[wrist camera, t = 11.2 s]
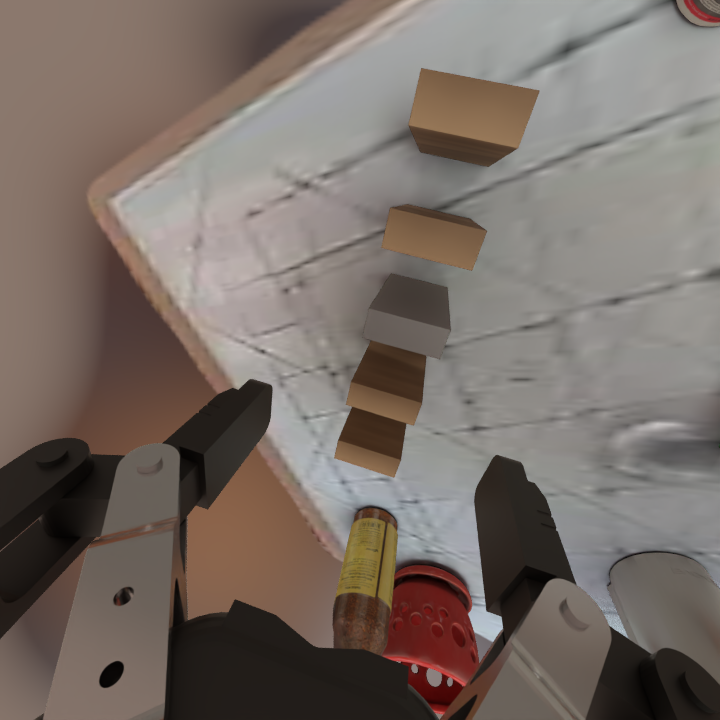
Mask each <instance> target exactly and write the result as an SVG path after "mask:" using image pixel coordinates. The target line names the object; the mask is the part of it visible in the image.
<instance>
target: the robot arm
mask: <svg viewBox="0 0 720 720" xmlns="http://www.w3.org/2000/svg"><path fill="white" fill-rule="evenodd" d="M271 404H272V385H270V384H267V383H263V382H260V381H257V380H254V379H250V380H248V381H247V382H246V383H245V384H244V385H243V386H242V387H241V388H240V389H239V390H237V389H234V388H231V389H229V390H227V391H224V392H222V393H220V394H218V395H217V396H216V397H214V398H213V399H212V400H211V401H210V402H209V403H208V405H206V406H204V407H203V408H202V409H201V410H200V411H199V413H196V414H195V415H194V416H193V417H192V418H191V419H190V420H188V421H187V422H186V423H185V424H184V425H183V426H182V427H180V428H179V429H178V430H177V431H176V432H175V433H174V434H172V435H171V436H170V437H169V438H168V439H167V440H166V441H164V442H163V443H162V444H161V443H159V444H158V443H157V444H149V445H145V446H141V447H139V448H137V449H135V450H133V451H131V452H130V453H128V454H127V455H126V456H121V455H119V456H118V455H97V454H91V452H90V449H89V447H88V444H87V443H86V442H84V441H82V440H80V439H76V438H63V439H56V440H51V441H48V442H45V443H42V444H40V445H38V446H35V447H33V448H32V449H30V450H28V451H27V452H25V453H24V454H22V455H21V456H19V457H18V458H16V459H14V460H13V461H12V462H10V463H8V464H7V465H6V466H4V467H2V468H1V469H0V550H1V549H2V548H4V547H5V546H6V545H7V544H8V543H10V542H11V541H12V540H13V539H14V538H15V537H17V536H18V535H19V534H20V533H21V532H22V531H24V530H25V529H26V528H27V527H28V526H29V525H31V524H32V523H33V522H34V521H35V520H36V519H38V520H37V521H36V522H35V523H34V524H32V525H31V526H30V527H29V528H28V529H27V530H26V531H24V532H23V533H22V534H21V535H20V536H19V537H17V538H16V539H15V540H14V541H13V542H12V543H10V544H9V545H8V546H7V547H6V548H4V549H3V550H2V551H1V552H0V639H1V637H2V636H3V635H4V634H5V633H6V632H7V631H8V630H9V629H10V628H11V627H12V626H13V625H14V624H15V622H17V620H18V619H19V618H20V617H21V616H22V615H23V614H24V613H25V612H26V611H27V610H28V609H29V608H30V607H31V606H32V605H33V603H34V602H35V601H36V600H37V599H38V598H39V597H40V596H41V595H42V594H43V593H44V592H45V591H46V590H47V588H49V586H50V585H51V584H52V583H53V582H54V581H55V580H56V579H57V578H58V577H59V576H60V575H61V574H62V572H64V571H65V569H66V568H67V567H68V566H69V565H70V564H71V563H72V562H73V561H74V560H75V559H76V558H77V557H78V556H79V554H81V552H82V551H83V550H84V549H85V548H86V547H87V546H88V545H89V544H90V543H91V542H92V541H93V540H94V538H96V537H100V539H99V540H95V541H93V542H92V543H91V544H90V546H89V547H88V550H87V553H86V556H85V559H84V564H83V567H82V571H81V575H80V579H79V583H78V586H77V590H76V594H75V598H74V602H73V605H72V609H71V613H70V617H69V621H68V625H67V629H66V632H65V636H64V640H63V644H62V648H61V652H60V655H59V659H58V663H57V667H56V671H55V675H54V679H53V682H52V686H51V690H50V694H49V697H48V701H47V706H46V709H45V713H44V714H42V715H41V716H39V717H38V718H36V719H35V720H439V719H438V717H437V715H436V714H435V712H434V711H433V709H432V708H431V707H430V706H429V704H428V703H427V702H426V701H425V699H424V698H423V697H422V696H421V695H420V694H419V693H418V692H417V691H416V690H415V689H414V688H413V687H412V686H411V685H409V684H408V674H409V667H408V666H406V665H403V664H401V663H398V662H395V661H393V660H390V659H388V658H385V657H383V656H380V655H377V654H375V653H372V652H370V651H367V650H365V649H339V648H318V647H315V646H313V645H311V644H310V643H309V642H308V641H306V640H305V639H304V638H303V637H302V636H300V635H299V634H298V633H297V632H296V631H294V630H293V629H292V628H291V627H290V626H288V625H287V624H286V623H285V622H284V621H282V620H281V619H280V618H279V617H277V616H276V615H274V614H272V613H269V612H267V611H264V610H261V609H259V608H256V607H253V606H251V605H249V604H246V603H243V602H241V601H238V600H234V602H233V605H232V606H231V608H230V610H229V612H220V613H212V614H207V615H203V616H199V617H196V618H193V619H191V620H188V599H187V521H188V519H187V516H188V514H189V513H190V512H191V511H192V509H193V508H194V507H195V506H196V505H197V506H199V507H202V508H205V509H208V508H209V507H210V506H211V504H212V503H213V502H214V500H215V499H216V498H217V496H218V495H219V494H220V492H221V491H222V490H223V488H224V487H225V486H226V484H227V483H228V482H229V480H230V479H231V478H232V476H233V475H234V474H235V472H236V471H237V470H238V468H239V467H240V466H241V464H242V463H243V462H244V460H245V459H246V458H247V456H248V455H249V454H250V452H251V451H252V450H253V448H254V447H255V446H256V444H257V443H258V442H259V440H260V439H261V438H262V436H263V435H264V434H265V432H266V430H267V428H268V425H269V422H270V418H271ZM474 504H475V513H476V522H477V531H478V540H479V548H480V557H481V566H482V575H483V584H484V593H485V602H486V611H487V612H490V613H493V614H496V615H499V616H501V617H502V622H503V629H502V630H501V631H500V633H499V634H498V636H497V637H496V639H495V640H494V642H493V643H492V645H491V647H490V648H489V650H488V651H487V653H486V654H485V656H484V657H483V659H482V660H481V662H480V663H479V665H478V666H477V668H476V670H475V671H474V673H473V674H472V676H471V677H470V679H469V680H468V682H467V683H466V685H465V686H464V688H463V689H462V691H461V692H460V693H459V695H458V696H457V697H456V699H455V700H454V701H453V702H452V703H451V705H450V706H449V707H448V709H447V710H446V712H445V713H444V714H443V716H442V717H441V719H440V720H720V589H719V588H718V586H717V585H716V583H715V582H714V581H713V579H712V578H711V576H710V575H709V574H708V572H707V571H706V569H705V568H704V567H703V566H702V565H701V564H699V563H697V562H696V561H694V560H692V559H689V558H687V557H684V556H680V555H676V554H670V553H644V554H639V555H634V556H631V557H628V558H625V559H623V560H622V561H620V562H618V563H617V564H616V565H615V566H614V567H613V568H612V570H611V571H610V581H611V584H610V585H609V586H608V587H607V589H608V591H609V593H610V596H611V598H612V601H613V603H614V605H615V608H616V610H617V612H618V615H619V617H620V619H621V622H622V624H623V626H624V629H625V631H626V633H627V636H628V638H629V639H628V638H626V637H625V636H623V635H622V634H620V633H619V632H617V631H616V630H614V629H613V628H612V627H610V626H609V624H608V622H607V620H606V618H605V616H604V614H603V612H602V611H601V609H600V608H599V606H598V605H597V604H596V602H595V601H594V600H593V599H592V598H591V597H590V596H589V595H588V594H587V593H586V592H585V591H584V590H582V589H581V588H580V587H578V586H577V585H576V582H575V579H574V577H573V574H572V571H571V568H570V565H569V562H568V560H567V557H566V554H565V551H564V548H563V545H562V543H561V540H560V537H559V534H558V531H556V526H555V523H554V520H553V518H552V517H551V515H552V514H551V511H550V509H549V506H548V503H547V500H546V498H545V497H544V495H543V494H542V493H541V491H540V490H539V488H538V487H537V486H536V484H535V483H533V482H529V481H528V480H527V477H526V474H525V470H524V467H523V465H522V463H521V462H518V461H515V460H512V459H509V458H505V457H502V456H499V455H496V456H495V457H494V458H493V459H492V461H491V463H490V464H489V466H488V468H487V470H486V471H485V473H484V475H483V477H482V478H481V480H480V482H479V484H478V486H477V488H476V492H475V499H474Z"/></svg>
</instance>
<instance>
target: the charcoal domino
mask: <svg viewBox="0 0 720 720" xmlns="http://www.w3.org/2000/svg"><path fill="white" fill-rule="evenodd" d="M450 331H451V327H450V314H449V301H448V287H444V286H440V285H436V284H432V283H428V282H424V281H420V280H416V279H412V278H408V277H404V276H400V275H396V274H392V273H391V274H390V276H389V278H388V279H387V281H386V282H385V284H384V285H383V287H382V288H381V290H380V292H379V293H378V295H377V296H376V298H375V299H374V301H373V302H372V304H371V305H370V307H369V309H368V314H367V318H366V323H365V327H364V332H363V337H362V338H365V339H368V340H372V341H376V342H379V343H383V344H386V345H390V346H394V347H397V348H401V349H404V350H408V351H412V352H415V353H419V354H423V355H426V356H430V357H433V358H437V359H440V358H441V355H442V353H443V350H444V347H445V344H446V342H447V339H448V336H449V334H450Z"/></svg>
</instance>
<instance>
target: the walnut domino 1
mask: <svg viewBox="0 0 720 720" xmlns="http://www.w3.org/2000/svg"><path fill="white" fill-rule="evenodd" d="M425 365H426V355H423V354H419V353H415V352H412V351H408V350H404V349H401V348H397V347H394V346H390V345H386V344H383V343H379V342H376V341H372V340H371V342H370V344H369V346H368V348H367V350H366V352H365V354H364V356H363V358H362V361H361V363H360V365H359V367H358V369H357V371H356V373H355V375H354V377H353V379H352V381H351V385H350V389H349V394H348V398H347V402H346V405H349V406H352V407H355V408H359V409H362V410H365V411H368V412H372V413H375V414H378V415H381V416H384V417H388V418H391V419H394V420H397V421H401V422H404V423H407V424H410V425H414V423H415V421H416V418H417V415H418V413H419V410H420V407H421V405H422V398H423V387H424V376H425Z"/></svg>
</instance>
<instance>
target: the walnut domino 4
mask: <svg viewBox="0 0 720 720" xmlns="http://www.w3.org/2000/svg"><path fill="white" fill-rule="evenodd" d="M486 233H487V231H486V230H485V229H484V228H482V227H481V226H479V225H478V224H477V223H475V222H474V221H473V220H471V219H469V218H464V217H460V216H456V215H452V214H447V213H443V212H439V211H435V210H430V209H426V208H422V207H418V206H413V205H409V204H406V205H402V206H397V207H392V208H390V211H389V215H388V220H387V224H386V229H385V233H384V238H383V242H382V247H381V248H384V249H388V250H392V251H396V252H400V253H404V254H408V255H412V256H416V257H420V258H424V259H428V260H432V261H435V262H439V263H443V264H447V265H451V266H455V267H459V268H463V269H467V270H471V271H472V270H473V267H474V264H475V262H476V259H477V256H478V254H479V251H480V248H481V246H482V243H483V241H484V238H485V235H486Z"/></svg>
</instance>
